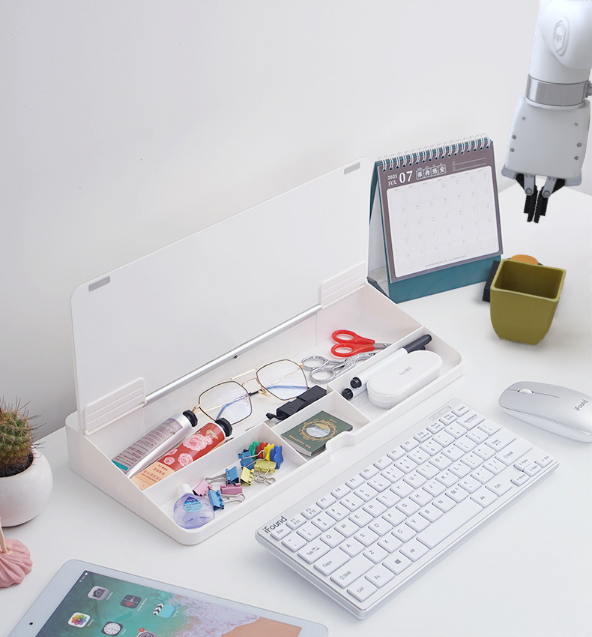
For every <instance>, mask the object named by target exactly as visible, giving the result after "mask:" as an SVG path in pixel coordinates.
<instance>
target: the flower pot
mask: <svg viewBox="0 0 592 637" xmlns="http://www.w3.org/2000/svg"><path fill="white" fill-rule="evenodd" d="M500 261H501V262H500V265H499V267H498V270H497V272H496V275H495V277H494V280H493V282H492V284H491V287H490V302H489V316H490V322H491V326H492V329H493V331H494V332H495V334H496V336H497V337H498V338H499V339H501V340H505V341H509V342H510V341H511V342H515V343H521V344H525V345H530V346H536V345H538V344H539V343H540V342H542V340H543V339H544V338H545V337H546V336H547V334H548V332H549V331H550V329H551V326H552V324H553V320H554V318H555V314H556V311H557V308H558V305H559V302H560V298H561V295H562V291H563V287H564V282H565V279H566V275H567V270H566V269H564V268H561V267H555V266H547V265H544V264H542V265H536V264H531V263H526V262H521V261H515V260H510V259H508V258H501V259H500Z"/></svg>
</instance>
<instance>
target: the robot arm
mask: <svg viewBox="0 0 592 637" xmlns="http://www.w3.org/2000/svg"><path fill="white" fill-rule="evenodd" d="M591 71H592V0H539V3H538V9H537V14H536V21H535V28H534V34H533V42H532V48H531V54H530V61H529V67H528V74H527V80H526V87H525V92H524V93H521V94H520V95H519V97H518V100H517V103H516V105H515V109H514V112H513V116H512V120H511V124H510V129H509V133H508V139H507V144H506V148H505V154H504V164H503V166H502V169H501V171H500V174H501V176H502V177H506V178H508V179H511V180H514V181H516V182H517V184H518V185H519V186H520V188H522V190H523V191H524V194H525V201H524V206H523V214H525V215H527V218H526V223H531V222H533V223H534V224H539V223H540V219H541V217H546V215H547V209H548V204H549V198H551V196H552V195H553V194H555V193H556V192H558V191H559V190H561V189H562V188H564V187H568V188H569V187H577V186H579V187H580V186H581V184H582V182H583V173H582V172H583V171H582V168H583V165H584V162H585V157H586V151H587V146H588V140H589V139H588V138H589V133H590V126H591V101H590V100H589V99H588V98H589V97H592V80H590V78H591ZM537 176H538V177H546V180H545V182H544V184H543V185H542V186H541V188H540V190H539V189H538V185H537Z"/></svg>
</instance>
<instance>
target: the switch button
mask: <svg viewBox="0 0 592 637" xmlns="http://www.w3.org/2000/svg"><path fill="white" fill-rule="evenodd" d="M510 258H511V259H510V260H515V261H521V262H526V263H531V264H536V265H538V262H539V261H538V259H536V257H534V256H532V255H529V254H522V253H521V254H514V255H512V256H511V257H510Z"/></svg>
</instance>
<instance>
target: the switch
mask: <svg viewBox="0 0 592 637" xmlns="http://www.w3.org/2000/svg"><path fill="white" fill-rule="evenodd" d="M507 259H511V257H508V258H507ZM500 262H501V260H495V259H493V261H492V264H491V266H490V270H489V271H488V272H489V273H488V275H487V278H486V281H485V284H484V287H483V292H482V298H481V301H482V302H486V303H490V287H491V284H492V282H493V280H494V277H495V275H496V272H497V270H498V267H499V265H500ZM538 265H543V264H542V263H541V262H539V261H538Z"/></svg>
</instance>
